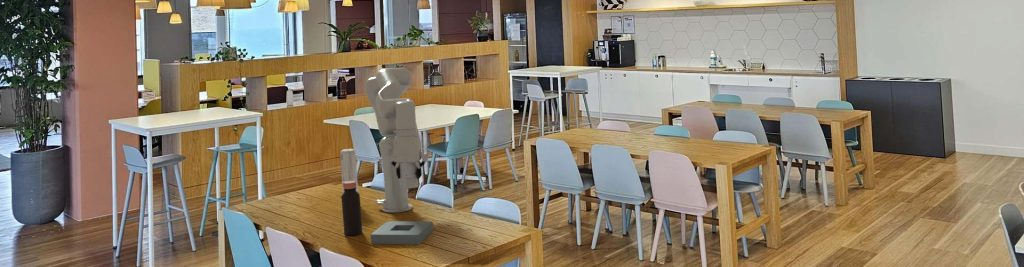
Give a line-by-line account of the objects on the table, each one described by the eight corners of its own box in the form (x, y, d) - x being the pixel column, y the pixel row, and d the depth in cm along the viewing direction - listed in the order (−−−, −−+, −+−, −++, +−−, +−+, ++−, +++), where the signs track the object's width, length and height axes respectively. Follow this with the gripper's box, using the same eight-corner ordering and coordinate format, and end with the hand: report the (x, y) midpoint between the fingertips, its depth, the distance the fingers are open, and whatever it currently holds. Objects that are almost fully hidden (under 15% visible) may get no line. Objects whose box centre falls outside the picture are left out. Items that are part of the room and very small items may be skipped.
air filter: (343, 205, 340) (339, 149, 336) (358, 203, 342) (354, 148, 338) (344, 208, 334) (340, 151, 330) (360, 206, 335) (355, 150, 332)
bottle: (340, 234, 292) (336, 182, 289) (354, 230, 297) (350, 179, 294) (352, 237, 288) (348, 184, 285) (366, 232, 293) (362, 181, 290)
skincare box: (405, 189, 297) (403, 158, 295) (400, 187, 301) (398, 156, 299) (419, 186, 301) (417, 156, 299) (414, 184, 304) (412, 154, 302)
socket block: (371, 243, 278) (370, 234, 277) (387, 230, 295) (387, 221, 295) (419, 244, 274) (418, 234, 274) (433, 230, 292) (432, 221, 291)
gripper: (381, 134, 295) (384, 179, 298) (425, 134, 292) (428, 180, 295) (388, 131, 303) (391, 175, 306) (431, 131, 299) (433, 175, 302)
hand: (409, 177), depth 300 cm, fingers closed on skincare box, 7 cm apart
